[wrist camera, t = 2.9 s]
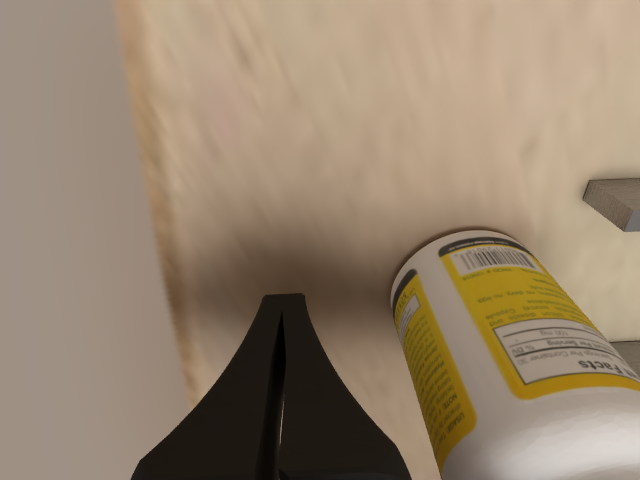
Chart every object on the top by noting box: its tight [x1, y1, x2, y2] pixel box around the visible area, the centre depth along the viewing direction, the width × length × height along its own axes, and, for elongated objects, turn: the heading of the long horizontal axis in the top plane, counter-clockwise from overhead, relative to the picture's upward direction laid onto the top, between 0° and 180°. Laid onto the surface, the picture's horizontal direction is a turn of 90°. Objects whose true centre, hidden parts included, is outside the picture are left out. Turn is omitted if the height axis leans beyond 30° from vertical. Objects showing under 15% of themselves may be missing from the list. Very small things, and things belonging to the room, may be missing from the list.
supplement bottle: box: [391, 230, 640, 480], centre depth 11 cm, size 5×5×10 cm
